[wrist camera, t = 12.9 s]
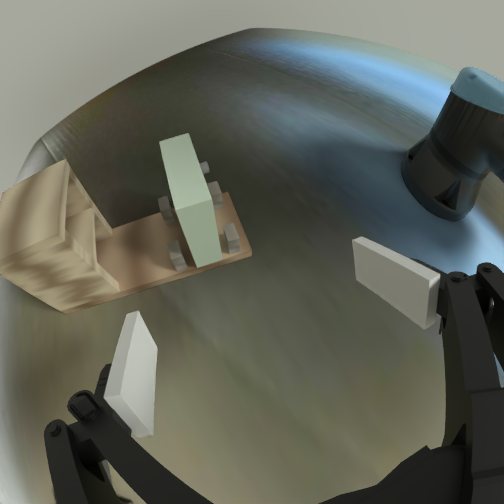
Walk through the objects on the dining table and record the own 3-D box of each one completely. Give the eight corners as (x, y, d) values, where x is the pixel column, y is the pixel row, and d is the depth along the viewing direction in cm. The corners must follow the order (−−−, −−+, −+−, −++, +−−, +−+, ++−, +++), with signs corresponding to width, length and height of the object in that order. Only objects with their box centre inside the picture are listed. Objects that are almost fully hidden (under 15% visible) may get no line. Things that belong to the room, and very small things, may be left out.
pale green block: (210, 196, 35) (200, 129, 26) (232, 256, 32) (226, 194, 22) (179, 206, 35) (159, 141, 25) (197, 267, 31) (175, 210, 21)
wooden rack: (228, 198, 37) (221, 107, 24) (251, 255, 33) (253, 168, 20) (63, 254, 33) (2, 192, 20) (66, 314, 29) (-12, 266, 16)
